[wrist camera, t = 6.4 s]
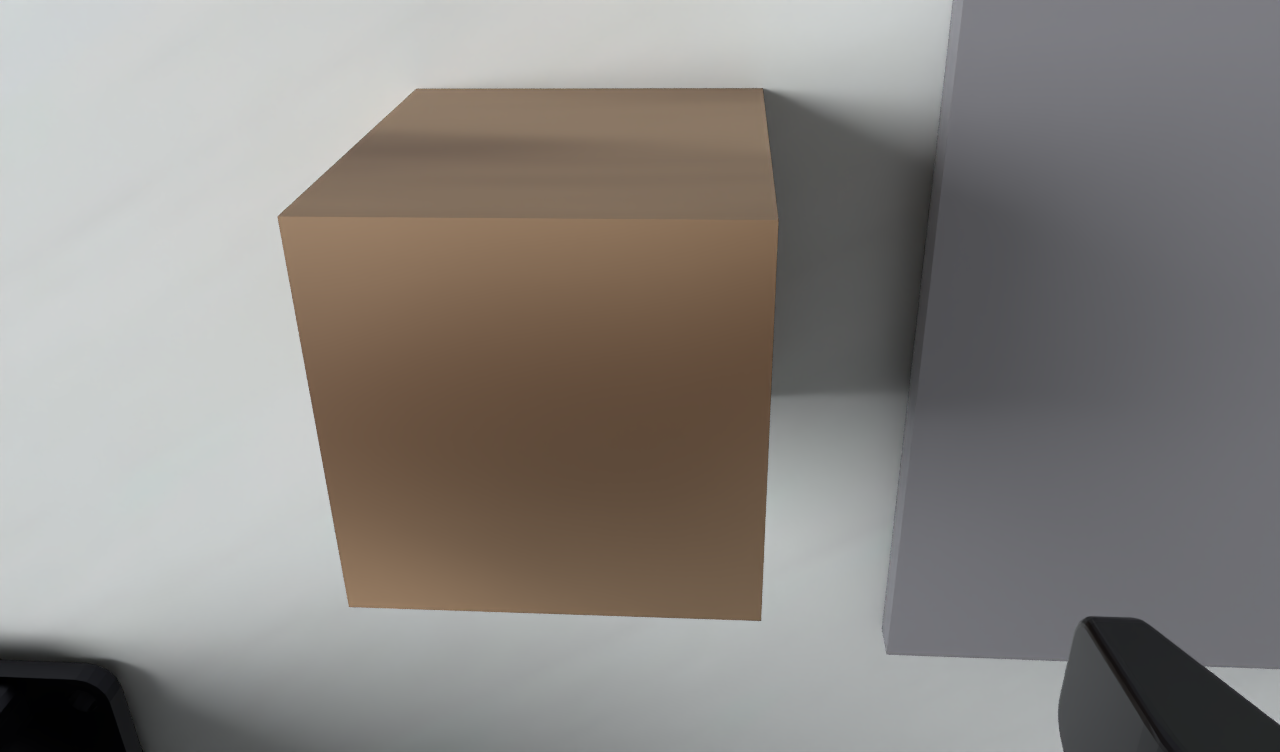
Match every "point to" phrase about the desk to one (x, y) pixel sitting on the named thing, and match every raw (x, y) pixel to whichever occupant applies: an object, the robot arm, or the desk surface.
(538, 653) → the desk surface
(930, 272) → the pad
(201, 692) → the desk surface
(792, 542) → the desk surface
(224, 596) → the desk surface
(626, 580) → the brown rectangular block
